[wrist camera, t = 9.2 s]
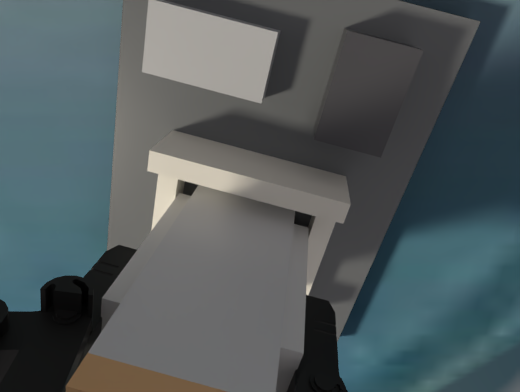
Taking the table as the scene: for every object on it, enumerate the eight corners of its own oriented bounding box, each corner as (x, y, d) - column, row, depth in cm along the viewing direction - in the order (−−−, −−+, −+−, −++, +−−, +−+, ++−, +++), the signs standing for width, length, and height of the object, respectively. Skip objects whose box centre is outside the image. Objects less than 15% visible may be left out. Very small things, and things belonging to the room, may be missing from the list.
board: (142, -65, 14) (88, -86, 11) (468, 20, 14) (514, 25, 11) (114, 279, 21) (77, 329, 18) (330, 338, 21) (332, 399, 18)
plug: (202, 178, 16) (65, 386, 7) (296, 203, 16) (270, 443, 7) (188, 255, 18) (65, 496, 9) (272, 277, 18) (229, 542, 9)
